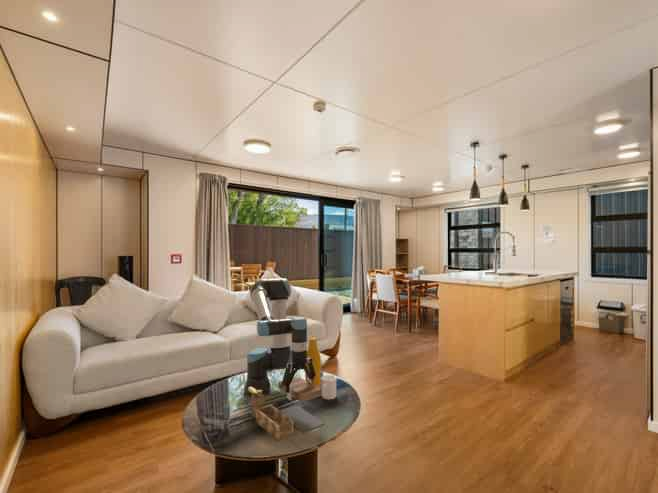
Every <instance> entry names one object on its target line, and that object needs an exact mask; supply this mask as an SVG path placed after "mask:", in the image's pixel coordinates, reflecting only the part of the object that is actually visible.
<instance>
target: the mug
mask: <svg viewBox="0 0 658 493" xmlns="http://www.w3.org/2000/svg"><path fill="white" fill-rule="evenodd" d="M320 388H321V389H322V395H321V398H323V399H324V400H330V399H331V400H334V399H336V398H337V377H336V376H334V375H329V374H328V375H323V376H321V387H320Z"/></svg>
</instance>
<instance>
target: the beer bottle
mask: <svg viewBox="0 0 658 493" xmlns="http://www.w3.org/2000/svg"><path fill="white" fill-rule="evenodd" d="M308 357H309V358H312V364H313V367H314V370H315V373H316V376H315V377H314V379H313V385H315V386H317V387H319V388H321V378H322V374H321V370H322V368H321V367H322V366H321V362H322V360H321V354H320V351H319V348H318V342H317V338H316V337H310V338H309V340H308V346H307V358H308ZM306 366H307V368H308V370H309V371H310V369H309V366H308V363H306ZM304 373H305V372H304ZM310 373H311V372H310ZM304 377H305V379H304V380H305V381H307V378H309V377H308V376H307V374H306V373H305V374H304Z"/></svg>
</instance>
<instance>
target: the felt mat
mask: <svg viewBox="0 0 658 493" xmlns="http://www.w3.org/2000/svg"><path fill="white" fill-rule="evenodd" d="M279 411H281V412H282V413H284V414H285V415H286V416H288V417H289V418H290V419H292V420H293V427H295V428H296V429H297V430H298V431H300V432H302V433H303V434H305V433H308V432H309V431H312V430H314V429H317V428H318V427H321V426H323V425H325V422H323V421H322V420H321V419H319V418H317V417H315V415H313V414H311V413H310V412H308V411H306V410H305V409H303V408H302V407H300V406H299V405H297V404H294V405H292V406H289V407H285V408H283V409H281V410H279Z"/></svg>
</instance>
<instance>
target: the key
mask: <svg viewBox="0 0 658 493" xmlns="http://www.w3.org/2000/svg"><path fill="white" fill-rule="evenodd" d="M248 391H250V392H251V393H252V392H254V393H255V396H256V397H258V398H259V397H262V393H261V390H256V389H255V388H253V387H252V386H251V387H248Z"/></svg>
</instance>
